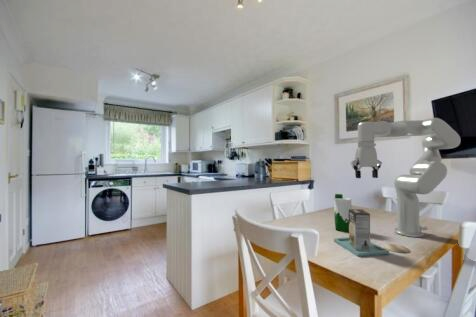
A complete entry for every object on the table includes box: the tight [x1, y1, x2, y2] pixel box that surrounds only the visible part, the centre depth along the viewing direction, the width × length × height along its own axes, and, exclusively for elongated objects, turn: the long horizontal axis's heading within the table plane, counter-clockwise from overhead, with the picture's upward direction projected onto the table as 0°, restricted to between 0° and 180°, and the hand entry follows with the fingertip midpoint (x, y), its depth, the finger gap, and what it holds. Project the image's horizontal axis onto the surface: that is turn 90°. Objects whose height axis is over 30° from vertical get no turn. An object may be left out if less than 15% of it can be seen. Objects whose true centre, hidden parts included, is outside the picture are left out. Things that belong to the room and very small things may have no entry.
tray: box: [333, 237, 390, 258], centre depth 102 cm, size 14×18×2 cm
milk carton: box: [333, 193, 353, 233], centre depth 129 cm, size 9×9×20 cm
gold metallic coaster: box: [383, 243, 410, 254], centre depth 100 cm, size 9×9×1 cm
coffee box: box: [348, 208, 371, 251], centre depth 101 cm, size 9×6×16 cm
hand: (366, 177), depth 118 cm, fingers open, 9 cm apart
